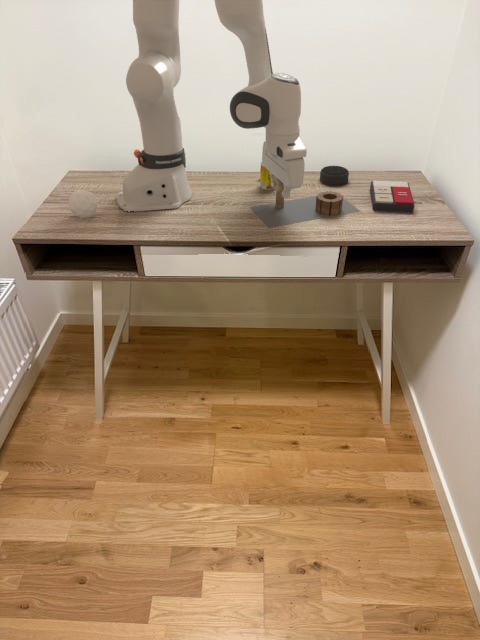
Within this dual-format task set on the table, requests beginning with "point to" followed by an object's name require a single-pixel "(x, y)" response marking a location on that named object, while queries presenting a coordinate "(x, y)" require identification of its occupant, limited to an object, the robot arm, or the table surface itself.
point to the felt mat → (295, 212)
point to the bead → (329, 203)
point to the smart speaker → (334, 175)
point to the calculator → (391, 196)
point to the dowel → (279, 194)
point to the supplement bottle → (265, 179)
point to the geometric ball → (83, 204)
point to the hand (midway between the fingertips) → (280, 192)
